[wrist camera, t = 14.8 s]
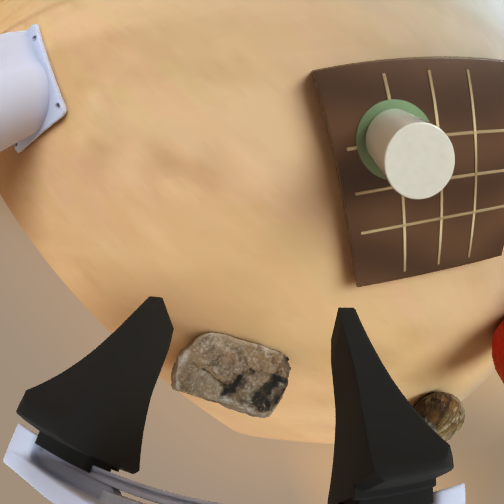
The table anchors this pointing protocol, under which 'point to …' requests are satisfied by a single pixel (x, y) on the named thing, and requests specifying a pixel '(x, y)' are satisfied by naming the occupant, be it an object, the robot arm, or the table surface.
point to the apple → (498, 350)
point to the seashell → (442, 413)
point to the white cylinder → (410, 153)
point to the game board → (457, 189)
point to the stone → (232, 373)
